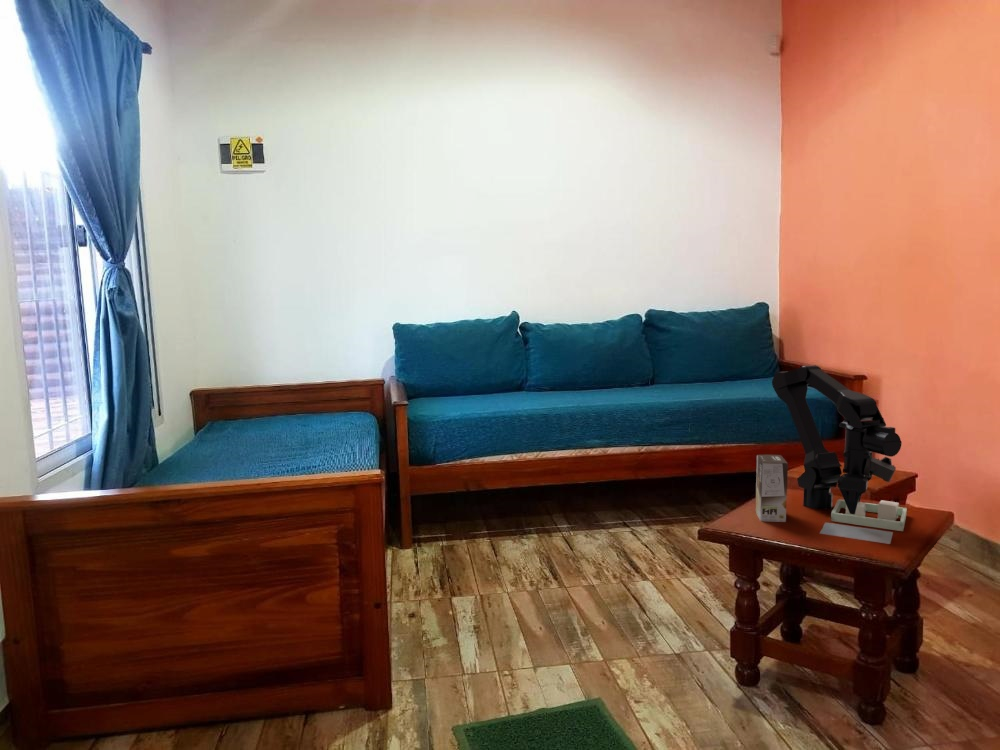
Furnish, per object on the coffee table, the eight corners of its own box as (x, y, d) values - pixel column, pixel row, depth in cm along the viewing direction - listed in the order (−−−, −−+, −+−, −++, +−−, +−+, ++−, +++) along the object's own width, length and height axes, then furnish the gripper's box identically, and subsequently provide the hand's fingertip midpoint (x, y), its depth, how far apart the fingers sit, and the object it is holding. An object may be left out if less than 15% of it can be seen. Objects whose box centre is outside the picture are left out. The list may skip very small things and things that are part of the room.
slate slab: (819, 537, 181) (819, 533, 180) (825, 526, 188) (825, 522, 188) (889, 548, 173) (890, 543, 173) (892, 536, 180) (893, 532, 180)
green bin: (830, 524, 189) (831, 513, 189) (837, 510, 200) (838, 499, 200) (902, 535, 181) (903, 523, 181) (906, 519, 192) (906, 508, 192)
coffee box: (786, 525, 189) (789, 463, 187) (760, 524, 190) (762, 462, 188) (779, 514, 198) (781, 454, 196) (754, 513, 199) (755, 453, 197)
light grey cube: (877, 519, 191) (878, 503, 190) (880, 516, 193) (881, 500, 193) (895, 522, 188) (896, 506, 188) (897, 518, 191) (898, 502, 190)
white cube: (845, 521, 189) (846, 504, 189) (847, 517, 193) (848, 500, 192) (862, 524, 187) (863, 506, 187) (864, 520, 191) (865, 502, 190)
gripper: (891, 459, 175) (887, 524, 177) (897, 443, 190) (893, 503, 193) (838, 454, 180) (836, 517, 182) (848, 439, 196) (845, 497, 198)
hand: (854, 508), depth 189 cm, fingers open, 9 cm apart
